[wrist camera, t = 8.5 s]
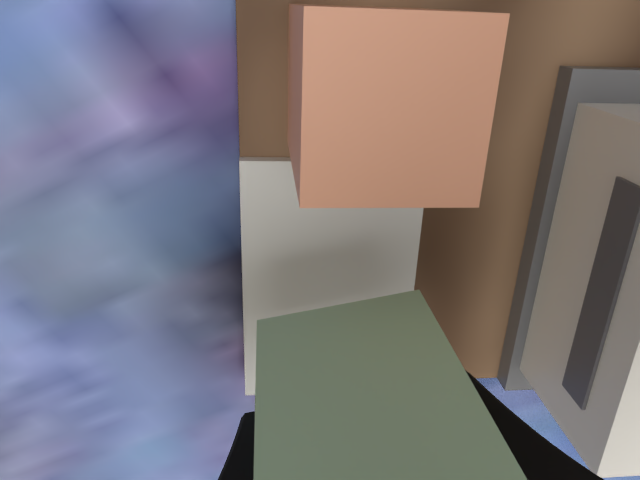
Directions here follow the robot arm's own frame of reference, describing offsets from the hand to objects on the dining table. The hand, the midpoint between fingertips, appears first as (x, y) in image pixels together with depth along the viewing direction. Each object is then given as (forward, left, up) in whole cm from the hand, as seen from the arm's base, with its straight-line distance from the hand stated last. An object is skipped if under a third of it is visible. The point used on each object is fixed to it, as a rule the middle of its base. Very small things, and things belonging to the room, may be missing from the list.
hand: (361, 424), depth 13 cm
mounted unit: (-10, -2, -8) cm, 13 cm away
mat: (0, 0, -7) cm, 7 cm away
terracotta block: (-1, -7, -7) cm, 10 cm away
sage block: (0, 0, -1) cm, 1 cm away
